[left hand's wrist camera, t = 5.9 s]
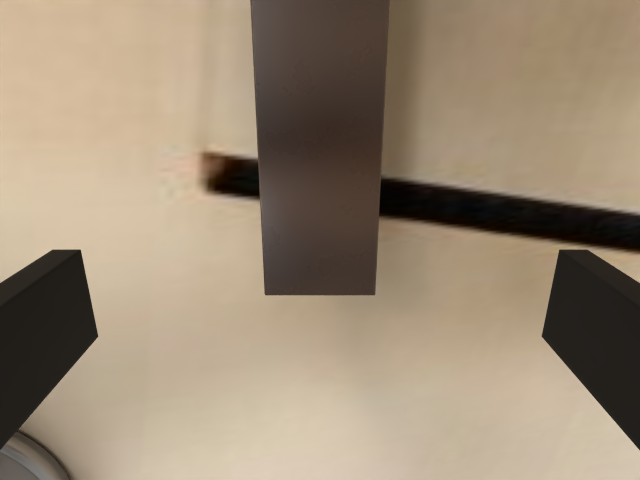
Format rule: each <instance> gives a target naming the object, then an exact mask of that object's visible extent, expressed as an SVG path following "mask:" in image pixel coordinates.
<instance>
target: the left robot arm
mask: <svg viewBox="0 0 640 480" xmlns="http://www.w3.org/2000/svg"><path fill="white" fill-rule="evenodd" d="M97 337H98V333H97V328H96V323H95V318H94V313H93V308H92V303H91V299H90V294H89V289H88V284H87V279H86V274H85V269H84V264H83V259H82V254H81V250H52V251H50V252H48V253H47V254H45V255H44V256H42V257H41V258H39V259H37V260H36V261H34V262H33V263H31V264H30V265H28V266H26V267H25V268H23V269H22V270H20V271H19V272H17V273H15V274H14V275H12V276H11V277H9V278H8V279H6V280H5V281H3V282H1V283H0V480H70V479H69V477H68V476H67V474H66V472H65V471H64V469H63V468H62V467H61V465H60V464H59V463H58V462H57V461H56V460H55V459H54V457H52V456H51V455H50V454H49V453H48V452H47V451H46V450H45V449H43V448H42V447H41V446H40V445H38V444H37V443H35V442H34V441H33V440H31V439H29V438H28V437H26V436H24V435H23V434H21V433H19V432H17V430H18V429H19V428H20V427H21V425H22V424H23V423H24V422H25V421H26V420H27V419H28V417H29V416H30V415H31V414H32V413H33V412H34V410H35V409H36V408H37V407H38V406H39V405H40V403H41V402H42V401H43V400H44V399H45V398H46V396H47V395H48V394H49V393H50V392H51V391H52V390H53V388H54V387H55V386H56V385H57V384H58V383H59V381H60V380H61V379H62V378H63V377H64V376H65V374H66V373H67V372H68V371H69V370H70V369H71V367H72V366H73V365H74V364H75V363H76V362H77V361H78V359H79V358H80V357H81V356H82V355H83V354H84V352H85V351H86V350H87V349H88V348H89V347H90V345H91V344H92V343H93V342H94V341H95V340H96V338H97ZM542 337H543V338H544V340H545V341H546V342H547V343H548V344H549V345H550V347H551V348H552V349H553V350H554V351H555V352H556V354H557V355H558V356H559V357H560V358H561V359H562V361H563V362H564V363H565V364H566V365H567V366H568V367H569V369H570V370H571V371H572V372H573V373H574V374H575V376H576V377H577V378H578V379H579V380H580V381H581V383H582V384H583V385H584V386H585V387H586V388H587V390H588V391H589V392H590V393H591V394H592V395H593V396H594V398H595V399H596V400H597V401H598V402H599V403H600V405H601V406H602V407H603V408H604V409H605V410H606V412H607V413H608V414H609V415H610V416H611V417H612V419H613V420H614V421H615V422H616V423H617V424H618V425H619V427H620V428H621V429H622V430H623V431H624V432H625V434H626V435H627V436H628V437H629V438H630V439H631V441H632V442H633V443H634V444H635V445H636V446H637V448H638V449H639V450H640V283H639V282H637V281H635V280H634V279H632V278H631V277H629V276H628V275H626V274H625V273H623V272H621V271H620V270H618V269H617V268H615V267H614V266H612V265H610V264H609V263H607V262H606V261H604V260H603V259H601V258H599V257H598V256H596V255H595V254H593V253H592V252H590V251H588V250H559V254H558V259H557V264H556V269H555V274H554V279H553V284H552V289H551V294H550V299H549V303H548V308H547V313H546V318H545V323H544V328H543V333H542Z"/></svg>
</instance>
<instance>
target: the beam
mask: <svg viewBox="0 0 640 480" xmlns="http://www.w3.org/2000/svg"><path fill="white" fill-rule="evenodd" d="M251 20H252V41H253V61H254V82H255V103H256V123H257V144H258V164H259V185H260V206H261V226H262V247H263V267H264V288H265V295H375V288H376V268H377V247H378V226H379V206H380V185H381V165H382V144H383V123H384V103H385V82H386V61H387V41H388V20H389V0H251Z"/></svg>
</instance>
